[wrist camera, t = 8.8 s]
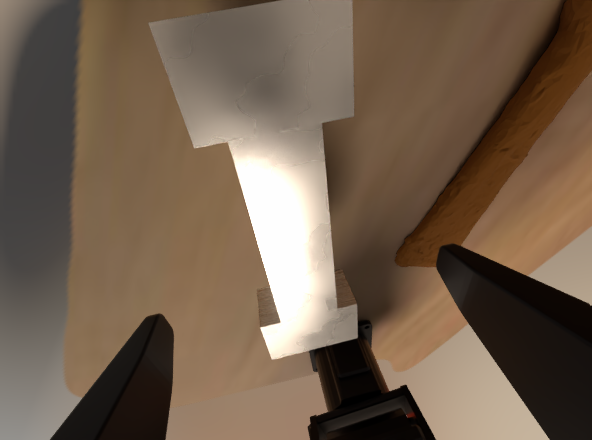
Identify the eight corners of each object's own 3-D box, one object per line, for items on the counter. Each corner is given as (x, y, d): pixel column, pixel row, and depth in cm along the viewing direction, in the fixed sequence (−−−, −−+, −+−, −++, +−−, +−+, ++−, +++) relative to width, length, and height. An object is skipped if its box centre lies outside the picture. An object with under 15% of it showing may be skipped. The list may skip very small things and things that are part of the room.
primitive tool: (440, 263, 26) (465, 293, 23) (387, 261, 24) (407, 293, 21) (603, 4, 16) (685, -1, 13) (527, -25, 14) (601, -38, 11)
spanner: (325, -4, 9) (351, -12, 7) (344, 303, 17) (357, 337, 15) (168, 23, 8) (148, 23, 6) (267, 321, 17) (272, 359, 15)
